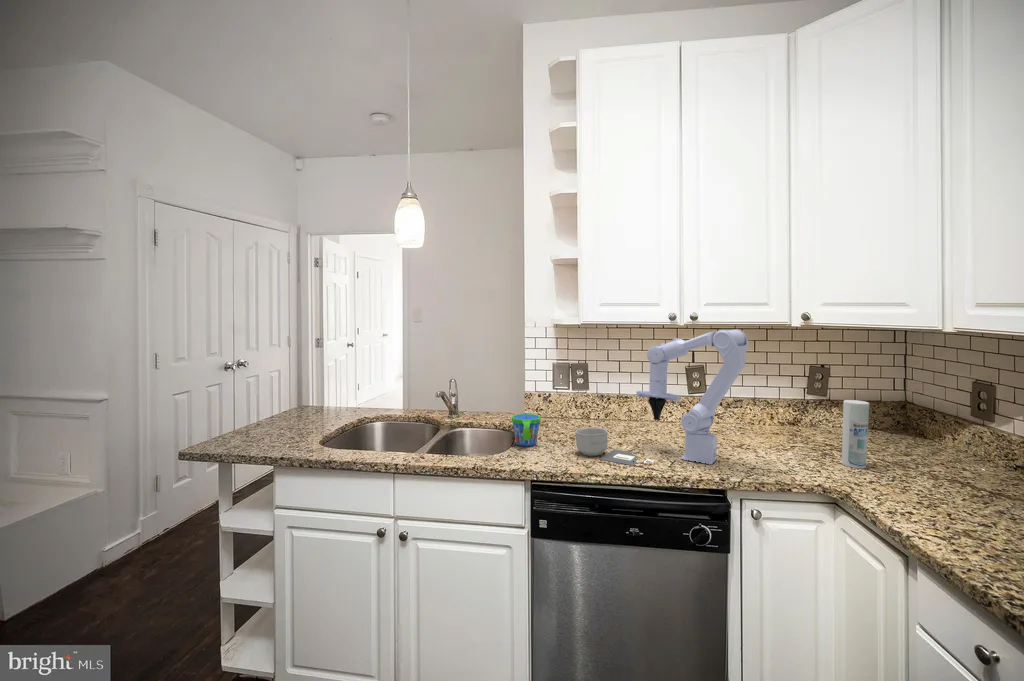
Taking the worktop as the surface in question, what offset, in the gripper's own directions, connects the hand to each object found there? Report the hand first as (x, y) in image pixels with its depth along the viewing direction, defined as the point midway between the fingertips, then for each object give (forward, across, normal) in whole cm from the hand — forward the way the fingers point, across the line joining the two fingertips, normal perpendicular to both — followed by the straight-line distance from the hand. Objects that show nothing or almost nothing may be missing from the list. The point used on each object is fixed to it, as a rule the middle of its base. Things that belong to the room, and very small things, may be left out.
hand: (656, 419), depth 165 cm
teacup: (+11, -16, -16) cm, 25 cm away
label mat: (+10, -1, -16) cm, 19 cm away
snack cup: (+11, -40, -21) cm, 47 cm away
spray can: (+10, +56, +17) cm, 60 cm away
